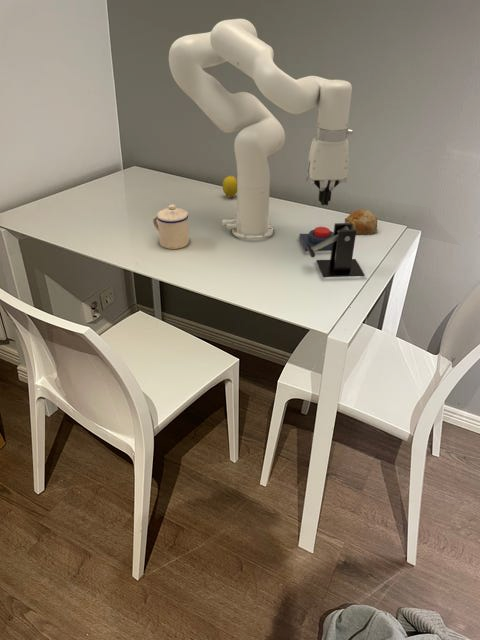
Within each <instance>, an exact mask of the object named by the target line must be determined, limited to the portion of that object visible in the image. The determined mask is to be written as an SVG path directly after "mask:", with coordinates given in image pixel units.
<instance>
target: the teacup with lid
mask: <svg viewBox="0 0 480 640" xmlns="http://www.w3.org/2000/svg"><path fill="white" fill-rule="evenodd" d="M152 225H153V226H154V228H155V230H156V231H157V232H158V237H159V244H160V246H162V247H163V248H165V249H170V250H176V249H183V248H185V247H186V246H187V245H188V244H189V243H190V232H189V213H188V211H187V210H185V209H183V208H180V207H176V205H175V204H169V205H167V207H166V208H164V209H161V210H160V211H158V212H157V213H156V215H154V216H153V218H152Z"/></svg>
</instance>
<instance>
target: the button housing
mask: <svg viewBox="0 0 480 640" xmlns="http://www.w3.org/2000/svg"><path fill="white" fill-rule="evenodd" d="M333 233H334V231H331V230H330V234H329V237H327V238H319V237H316V236H314V229H311V230H309V232H308V233H299V240H300V243H301V245H302V248H303V250H304V252H309V251H308V248H307V245H308V244H311V246H312V247H313V246H315V245H317V244H319V243H321V242H323V241H325V240H327V239H329V238H331V237H333ZM331 249H332V243H331V244H329V245H327V246H325V247H323V248H321V249H319V250H317V251H316V252H327V251H328V252H329V251H330V252H331Z"/></svg>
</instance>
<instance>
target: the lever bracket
mask: <svg viewBox="0 0 480 640" xmlns="http://www.w3.org/2000/svg"><path fill="white" fill-rule="evenodd" d="M345 226H347V227H348V228H349V230H339V229H341V228H343V227H345ZM351 229H352V224H351V223H345V222H344V223H343V222H342V223H341V222H339V223H337V222H336V223H334V227H333V236H335V235H337V234H338V237H337V241H335V242H333V243H332V249H331V251H330V257H329V259H316V260H315V261H316V264H317V266H318V269H319V271H320V274H321V276H322V278H342V277H345V278H346V277H365V273H364V271H363V270H362V267H361V265H360V264H359V262H358V261H357V259H356V258H353V255H354V249H355V243H356V236H357V234H356V230H351ZM337 230H338V232H337Z"/></svg>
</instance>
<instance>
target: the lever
mask: <svg viewBox="0 0 480 640" xmlns="http://www.w3.org/2000/svg"><path fill="white" fill-rule="evenodd" d="M339 230H349V228H348V227H347V226H345V227H343V228H341V229H339ZM337 232H338V230H337ZM337 237H338V234H337V235H335V236H333V237H331V238H329V239H327V240H325V241H323V242H321V243H319V244H317V245H315V246H313V247H312V246H311V244H308V245H307V248H308V251H307V252H308V253H309V255H310V257H311V258H315V257H316V253H315V252H318V251H317V250H319V249H321V248H323V247H325V246H327V245H329V244H331V243H333V242H335V241H337Z"/></svg>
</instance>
